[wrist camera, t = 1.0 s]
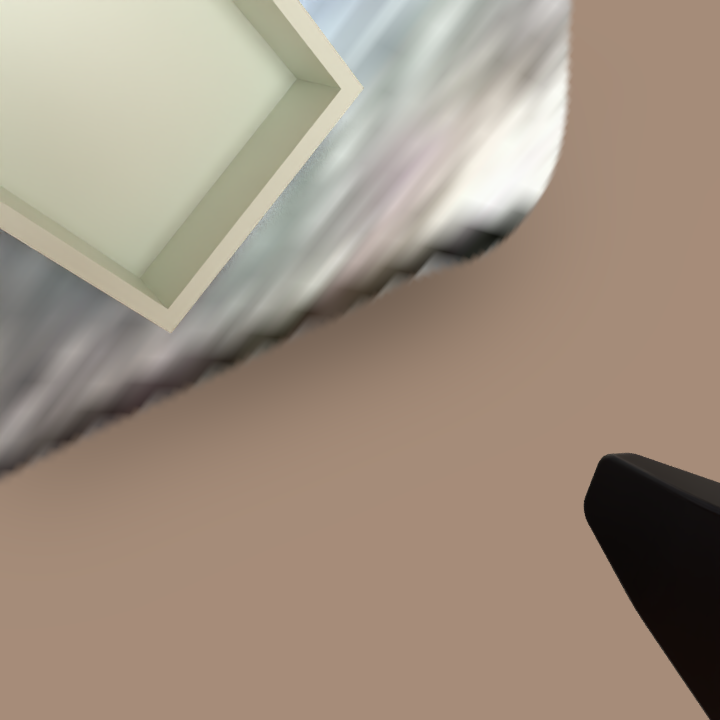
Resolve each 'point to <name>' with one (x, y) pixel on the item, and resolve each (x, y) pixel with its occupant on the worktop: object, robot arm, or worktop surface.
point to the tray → (157, 134)
